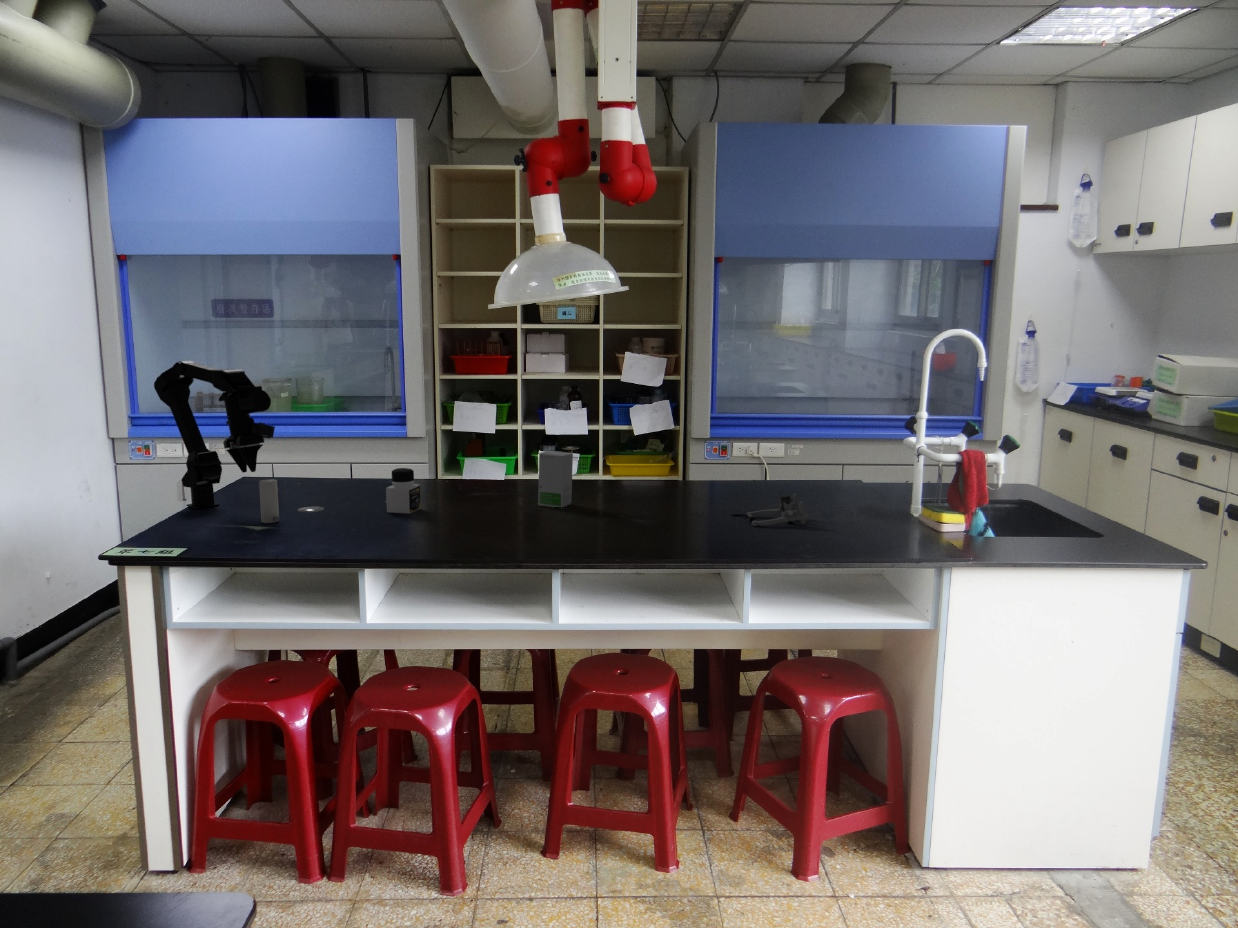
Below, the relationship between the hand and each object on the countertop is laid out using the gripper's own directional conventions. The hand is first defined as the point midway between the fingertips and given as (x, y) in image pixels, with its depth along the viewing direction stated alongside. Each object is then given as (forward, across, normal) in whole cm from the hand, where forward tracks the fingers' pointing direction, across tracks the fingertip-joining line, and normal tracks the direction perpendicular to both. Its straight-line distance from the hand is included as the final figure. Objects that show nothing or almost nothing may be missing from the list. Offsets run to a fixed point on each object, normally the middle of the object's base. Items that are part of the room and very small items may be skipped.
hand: (249, 472), depth 239 cm
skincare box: (+24, -36, -73) cm, 85 cm away
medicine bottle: (+18, -18, -35) cm, 43 cm away
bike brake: (+35, -86, -108) cm, 142 cm away
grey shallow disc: (+14, -4, -13) cm, 19 cm away
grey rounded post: (+14, -12, 0) cm, 18 cm away
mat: (+14, -10, +1) cm, 17 cm away
